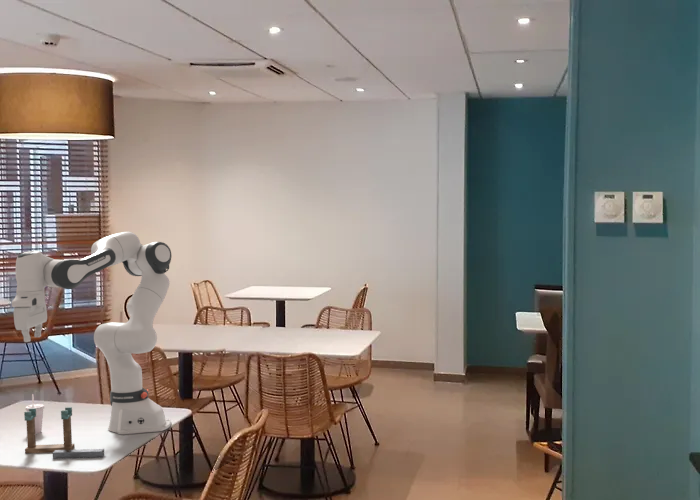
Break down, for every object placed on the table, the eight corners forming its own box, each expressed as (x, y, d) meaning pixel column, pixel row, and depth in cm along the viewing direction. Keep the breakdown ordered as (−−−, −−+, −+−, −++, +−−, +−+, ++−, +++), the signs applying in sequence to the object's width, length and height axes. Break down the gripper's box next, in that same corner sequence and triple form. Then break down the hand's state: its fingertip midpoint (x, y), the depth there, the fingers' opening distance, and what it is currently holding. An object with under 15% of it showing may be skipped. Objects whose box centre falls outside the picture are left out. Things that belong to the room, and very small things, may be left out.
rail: (104, 456, 249) (104, 448, 248) (102, 458, 246) (101, 451, 246) (55, 457, 248) (55, 450, 248) (52, 460, 246) (52, 452, 246)
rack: (75, 447, 257) (73, 407, 257) (70, 452, 253) (68, 410, 252) (30, 449, 257) (28, 408, 256) (24, 453, 252) (22, 412, 251)
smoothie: (29, 430, 280) (28, 392, 279) (47, 429, 280) (46, 391, 280) (23, 435, 274) (22, 396, 273) (42, 434, 274) (40, 396, 273)
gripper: (32, 295, 267) (34, 334, 268) (9, 302, 247) (11, 344, 247) (51, 295, 267) (52, 334, 268) (29, 302, 247) (30, 344, 248)
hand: (32, 339), depth 257 cm, fingers open, 8 cm apart
